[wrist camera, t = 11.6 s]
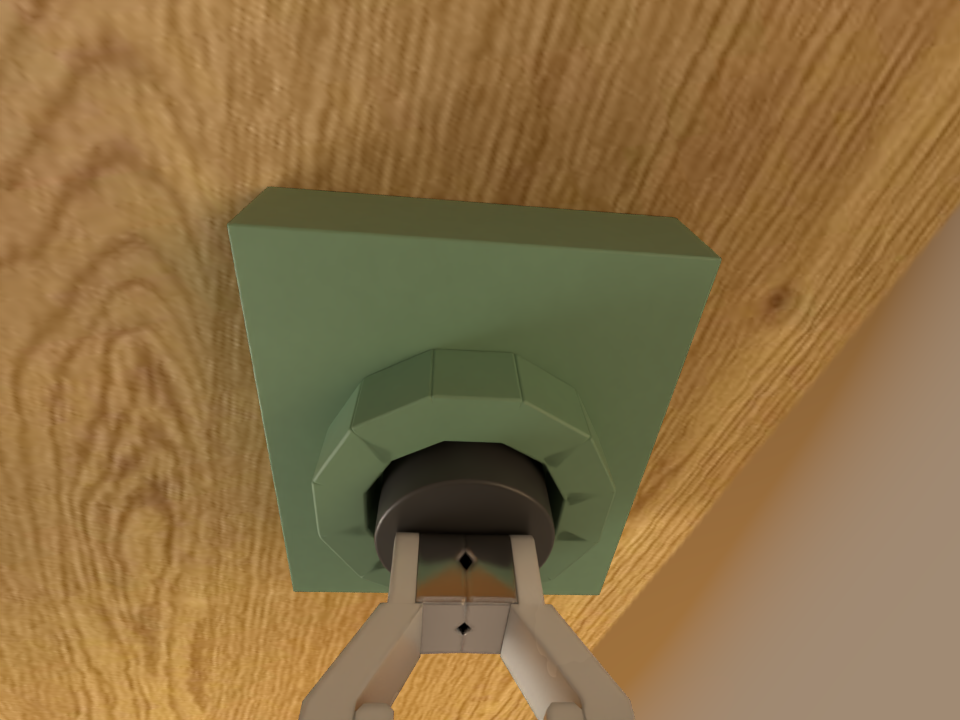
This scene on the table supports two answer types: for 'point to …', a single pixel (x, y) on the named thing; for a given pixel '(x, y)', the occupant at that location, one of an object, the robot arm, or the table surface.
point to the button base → (460, 358)
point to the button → (464, 495)
